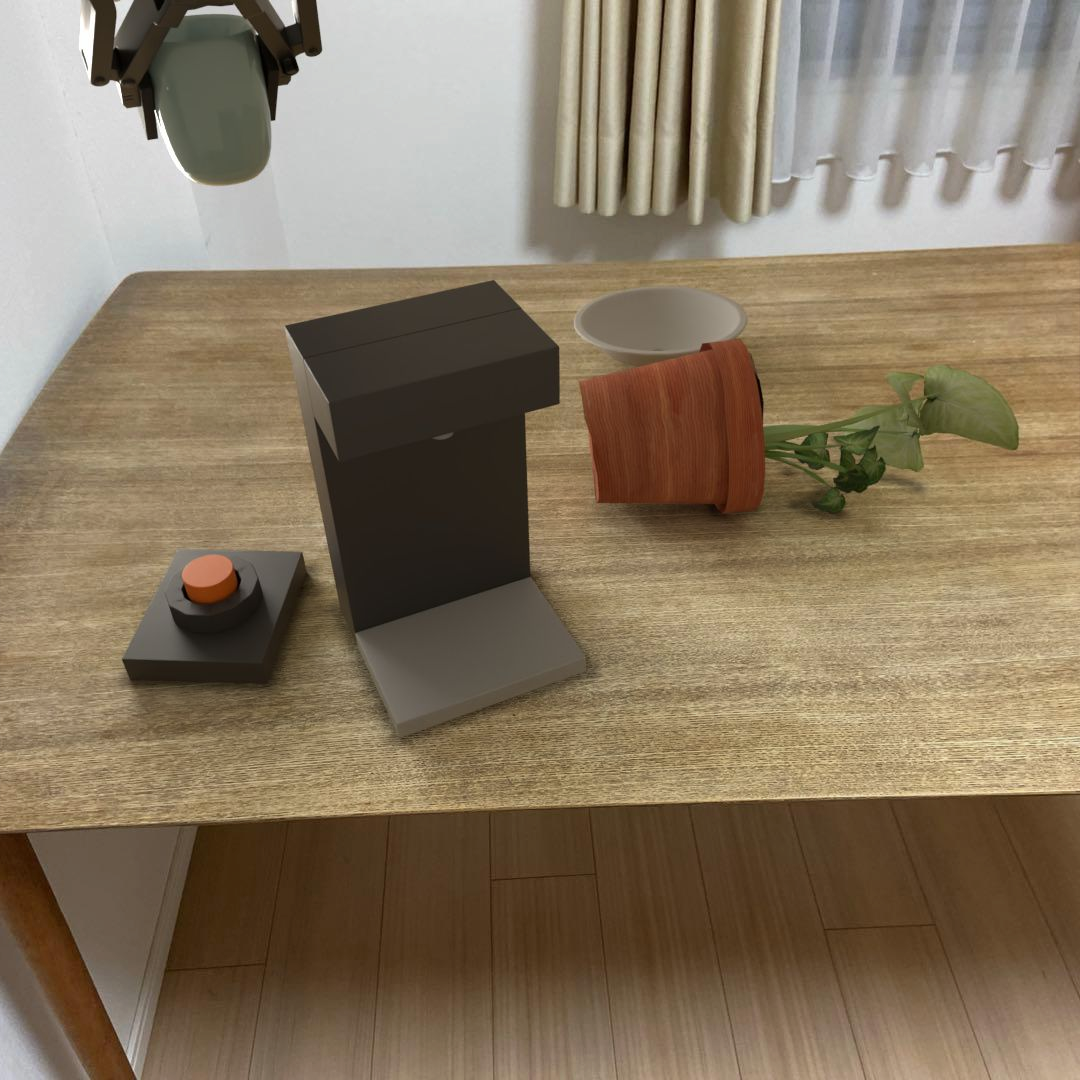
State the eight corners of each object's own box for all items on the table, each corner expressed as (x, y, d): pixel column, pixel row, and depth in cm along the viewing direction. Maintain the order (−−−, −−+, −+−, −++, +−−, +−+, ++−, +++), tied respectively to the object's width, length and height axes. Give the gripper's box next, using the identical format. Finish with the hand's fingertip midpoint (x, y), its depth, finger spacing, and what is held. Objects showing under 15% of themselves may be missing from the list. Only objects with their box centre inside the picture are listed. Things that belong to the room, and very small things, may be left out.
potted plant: (601, 577, 83) (1034, 527, 82) (586, 413, 74) (1073, 355, 73) (584, 473, 95) (960, 429, 94) (570, 322, 86) (985, 272, 85)
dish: (716, 320, 112) (720, 278, 109) (763, 387, 101) (769, 342, 98) (560, 338, 110) (560, 295, 107) (591, 408, 99) (592, 363, 96)
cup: (274, 152, 78) (247, 9, 72) (288, 187, 72) (261, 35, 66) (169, 166, 76) (133, 20, 70) (176, 203, 71) (136, 47, 64)
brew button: (180, 604, 73) (174, 586, 72) (196, 571, 76) (190, 553, 75) (229, 605, 73) (224, 587, 72) (243, 572, 76) (239, 554, 75)
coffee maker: (586, 671, 72) (591, 377, 57) (399, 739, 68) (349, 440, 53) (508, 556, 82) (494, 279, 67) (340, 609, 78) (283, 325, 62)
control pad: (129, 680, 72) (113, 641, 70) (184, 569, 82) (171, 531, 79) (267, 684, 72) (256, 645, 69) (307, 572, 81) (298, 533, 79)
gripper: (7, -37, 49) (73, 185, 71) (409, -76, 56) (358, 138, 78) (-38, -178, 50) (42, 85, 71) (367, -201, 56) (328, 47, 78)
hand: (207, 112), depth 74 cm, fingers closed on cup, 8 cm apart
